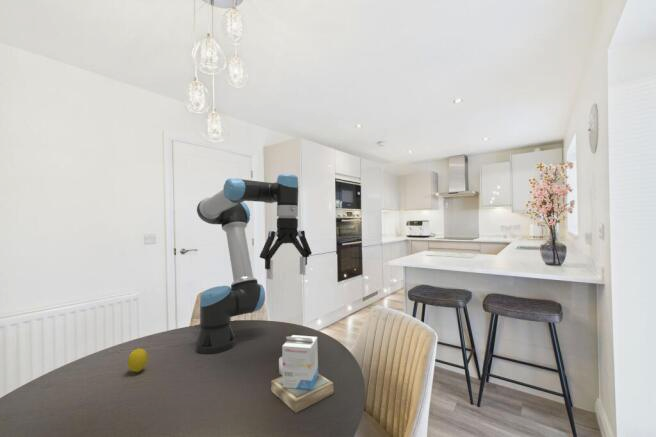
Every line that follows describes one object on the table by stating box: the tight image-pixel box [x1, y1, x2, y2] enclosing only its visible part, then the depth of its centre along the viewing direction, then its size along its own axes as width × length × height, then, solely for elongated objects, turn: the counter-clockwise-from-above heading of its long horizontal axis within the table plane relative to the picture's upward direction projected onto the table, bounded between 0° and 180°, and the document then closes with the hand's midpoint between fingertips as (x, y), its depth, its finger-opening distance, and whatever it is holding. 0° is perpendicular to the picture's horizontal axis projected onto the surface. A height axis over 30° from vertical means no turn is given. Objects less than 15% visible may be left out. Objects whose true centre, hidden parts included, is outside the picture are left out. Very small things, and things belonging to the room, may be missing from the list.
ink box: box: [281, 334, 319, 390], centre depth 82 cm, size 9×8×13 cm
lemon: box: [127, 347, 148, 373], centre depth 94 cm, size 6×6×8 cm
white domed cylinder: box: [278, 356, 283, 376], centre depth 94 cm, size 7×7×4 cm
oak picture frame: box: [270, 373, 334, 414], centre depth 82 cm, size 13×13×3 cm
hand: (286, 276), depth 101 cm, fingers open, 13 cm apart
